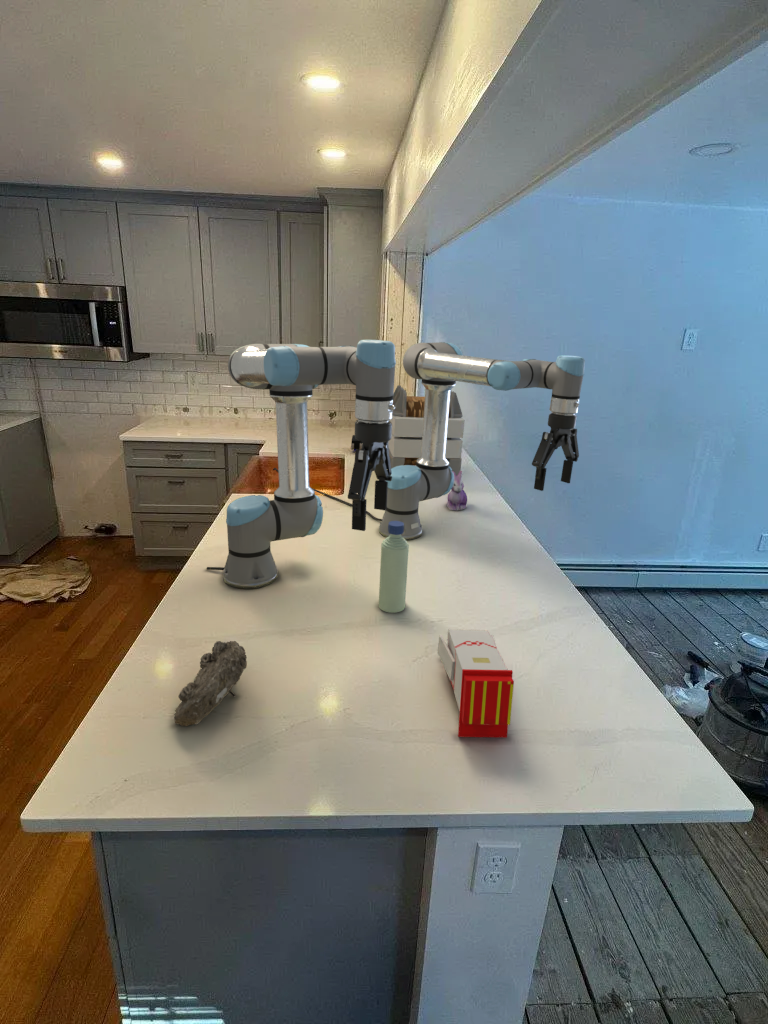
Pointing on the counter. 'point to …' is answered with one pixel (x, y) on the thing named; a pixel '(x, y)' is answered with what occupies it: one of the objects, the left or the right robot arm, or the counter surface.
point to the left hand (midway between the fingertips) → (370, 519)
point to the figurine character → (355, 444)
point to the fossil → (211, 682)
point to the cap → (396, 527)
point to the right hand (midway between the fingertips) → (552, 485)
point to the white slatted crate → (421, 430)
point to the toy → (478, 682)
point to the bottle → (393, 573)
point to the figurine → (457, 494)
